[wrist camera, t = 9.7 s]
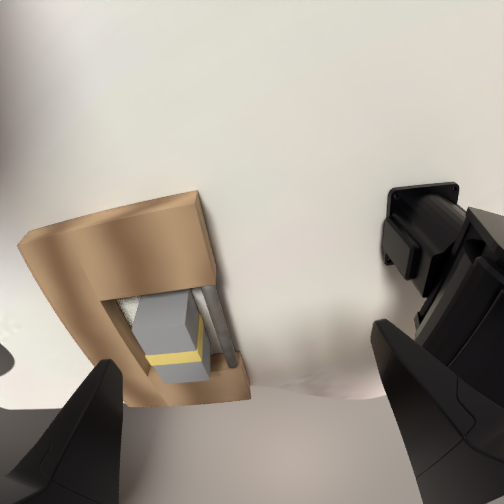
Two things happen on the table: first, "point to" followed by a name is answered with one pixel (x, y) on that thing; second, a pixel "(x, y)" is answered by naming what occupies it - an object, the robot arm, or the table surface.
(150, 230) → the brown wooden flat frame
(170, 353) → the grey banded block
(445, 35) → the table surface
